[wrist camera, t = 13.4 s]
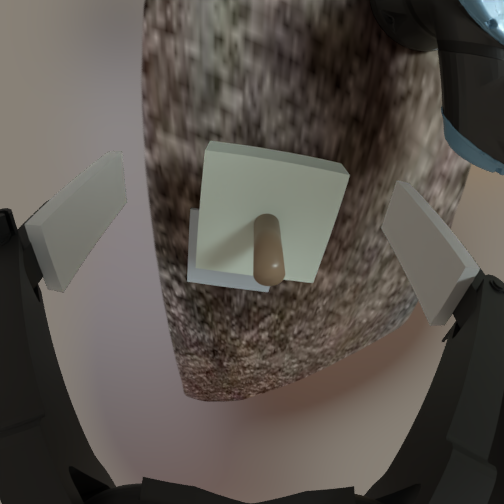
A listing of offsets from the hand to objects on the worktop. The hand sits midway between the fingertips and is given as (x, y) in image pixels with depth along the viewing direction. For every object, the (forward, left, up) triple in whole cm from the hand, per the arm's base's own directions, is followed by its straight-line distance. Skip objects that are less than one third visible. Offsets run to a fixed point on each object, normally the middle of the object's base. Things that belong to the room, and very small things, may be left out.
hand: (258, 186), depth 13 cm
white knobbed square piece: (-3, +13, -22) cm, 26 cm away
